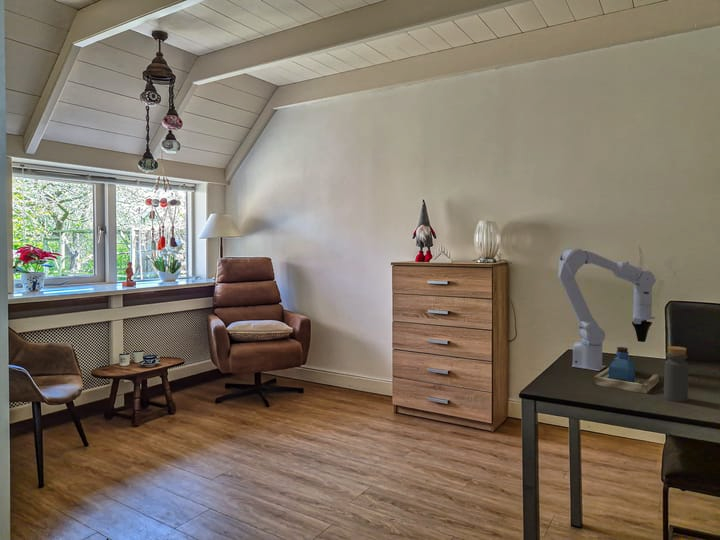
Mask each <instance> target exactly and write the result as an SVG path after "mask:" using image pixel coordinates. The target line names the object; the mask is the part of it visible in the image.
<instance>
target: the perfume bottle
mask: <svg viewBox="0 0 720 540" xmlns="http://www.w3.org/2000/svg"><path fill="white" fill-rule="evenodd" d="M628 350H629V348H628V347H624V346H617V347H616V353H615V354H616V355H617V356H615V357H614V358H613V360H612V361H611V362H610V364H609V366H608V368H609V379H615V380H621V381H627V382H633V383H635V382H636V379H635V378H636V376H635V375H636V365H635V363H634V362H633V360H632V358H631V357H628V356H629V351H628Z"/></svg>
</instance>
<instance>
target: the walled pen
mask: <svg viewBox="0 0 720 540" xmlns="http://www.w3.org/2000/svg"><path fill="white" fill-rule="evenodd" d="M659 379H660V374H657V373H654V374H652V375H651V377H650V378H648V379H647V380H646V381H645V382H643V379H641V378H638V379H637V380H635V383H633V382H627V381H621V380H615V379H609V367H607V368H606V369H604V370H603V371H601V372H599V373H597V374H596V375H595V376H593V385H595V386H601V387H606V388H611V389H618V390H624V391H629V392H636V393H641V394H648V393H649V392H650V391H651V390H652V389H653V388H654V387H655V386H656V385H657V384H658V383H659V381H660V380H659Z"/></svg>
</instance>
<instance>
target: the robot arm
mask: <svg viewBox="0 0 720 540" xmlns="http://www.w3.org/2000/svg"><path fill="white" fill-rule="evenodd" d="M558 262H559V264H558V270H557V273H558V274H557V277H558V280H559V283H560V284H561V286H562V290H564V292H565V293H564V294H565V295H566V297H567V300H568V302H569V304H570V306H571V309H572V310H573V312H574V316H575V317H576V319H577V322H576V323H577V326H578V334H579V336H580V337H581V339H580V341H575V342H574V344H573V346H572V347H573V348H572V365H571V368H578V369H584V370H585V369H586V370H591V371H597V372H600V371H601V370H603V369H604V368H606V366H607V365H603V342H604V341H605V338H606V333H605V331H604V329H602V328H601V327H600V326H599V324H598V322H597V321H596V319H595V318H594V317H593V315H592V313H591V311H590V309H589V306H588V305H587V302H586V300H585V298H584V295H583V293H582V291H581V289H580V286H579V285H578V281H576V277H575V276H576V275H577V272H578V271H579V269H580V268H581V267H583V265H590V264H592V265H595V266H598V267H601V268H603V269H606V270H609V271H611V272H612V274H613V276H614V277H617V278H619V279H622V280H624V281H627V282H629V283H631V284H633V307H632V313H633V314H632V319H633V321H631V324H632V326H633V328H634V330H635V334H636V339H637V342H638V343H639V342H641V343H645V342H646V340H647V337H648V333H649V330H650V327H651V326H652V325H653V322H652V321H649V320H655V319H656V316H652V308H653V307H652V305H653V286H654V285H655V283H657V282H656V281H657V279H656V277H655V275H654V274H653V272H652V271H649V270H643V269H642V267H641V266H635V265H632V264H630V262H629V261H626V260H624V261H622V260H621V261H620V260H619V261H618V262H615V261H613V260H610V259H608V258H606V257H604V256H601V255H599V254H597V253H594V252H591V251H588V250H583V249H581V248H566V249H564V250H563V251H562V253H561V255H560V257H558Z"/></svg>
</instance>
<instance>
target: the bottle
mask: <svg viewBox="0 0 720 540" xmlns="http://www.w3.org/2000/svg"><path fill="white" fill-rule="evenodd" d="M686 353H687V348H686V347H684V346H683V347H682V346H677V345H675V346H674V345H673V346H672V345H671V346H670V345H669V346H667V352H666V353H665V355H666V357H667V358H668V359H667V360H666V361H664V373H663V374H664V375H663V376H664V377H663V398H664V399H665V400H668V401H673V402H679V403H683V402H687V401H688V398H689V397H688V396H689V365H690V364H689V363H688V362H687V361H686V359H688V354H686Z"/></svg>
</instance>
